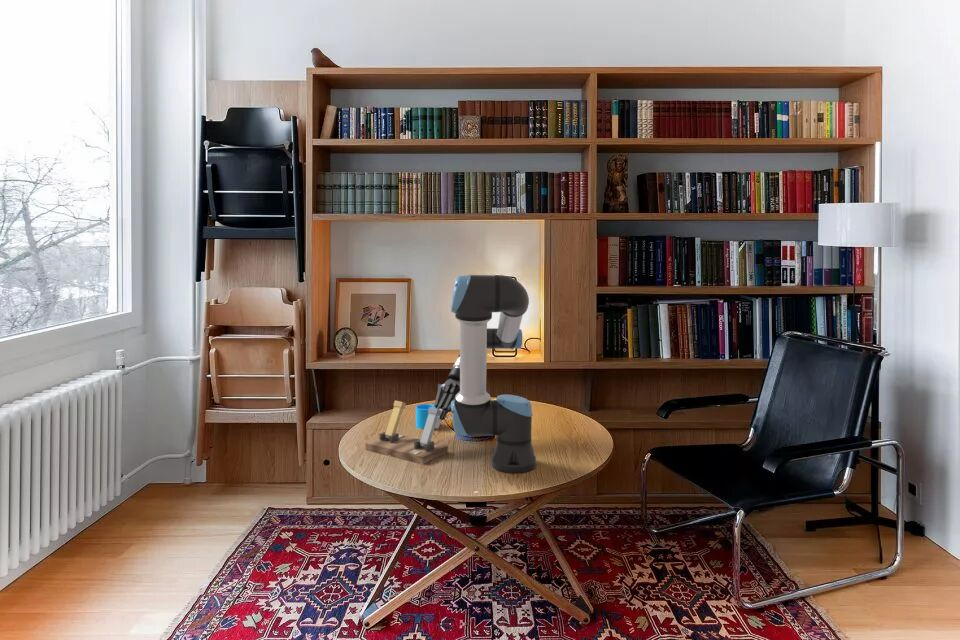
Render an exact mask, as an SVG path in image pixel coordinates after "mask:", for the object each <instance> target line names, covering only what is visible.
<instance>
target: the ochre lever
mask: <svg viewBox="0 0 960 640" xmlns="http://www.w3.org/2000/svg"><path fill="white" fill-rule="evenodd" d="M406 406H407V403H406V402H403V401H401V400H394V402H393V408H392V409H393V410H392V412H391V415H390V418H389V421H388V424H387V426H386V431H385V432H386V433H385V438H387V439H390V436H392V435H394V434H397V430H398V427H399V423H400V421H401V417H402V415H403V411H404V410H405V409H406Z"/></svg>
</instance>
